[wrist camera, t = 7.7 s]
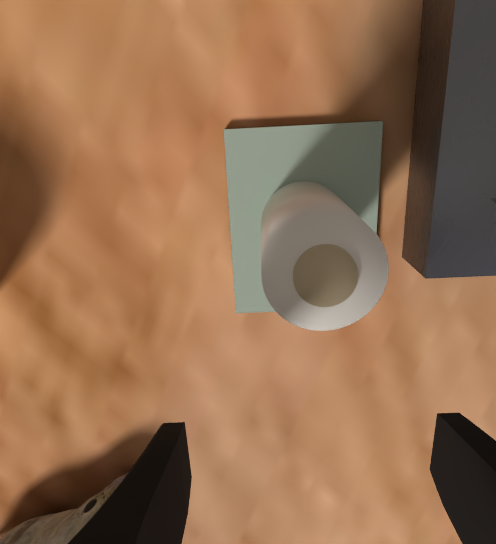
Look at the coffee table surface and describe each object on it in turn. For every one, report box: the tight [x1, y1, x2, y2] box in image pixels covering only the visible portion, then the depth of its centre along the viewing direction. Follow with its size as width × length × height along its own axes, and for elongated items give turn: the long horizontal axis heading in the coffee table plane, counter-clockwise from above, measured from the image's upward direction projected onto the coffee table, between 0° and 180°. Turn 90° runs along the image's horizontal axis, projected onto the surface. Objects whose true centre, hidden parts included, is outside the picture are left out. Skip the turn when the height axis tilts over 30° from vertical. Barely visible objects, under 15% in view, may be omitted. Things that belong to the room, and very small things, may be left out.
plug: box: [261, 181, 389, 331], centre depth 16 cm, size 4×4×7 cm
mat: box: [224, 121, 383, 313], centre depth 20 cm, size 9×7×1 cm
